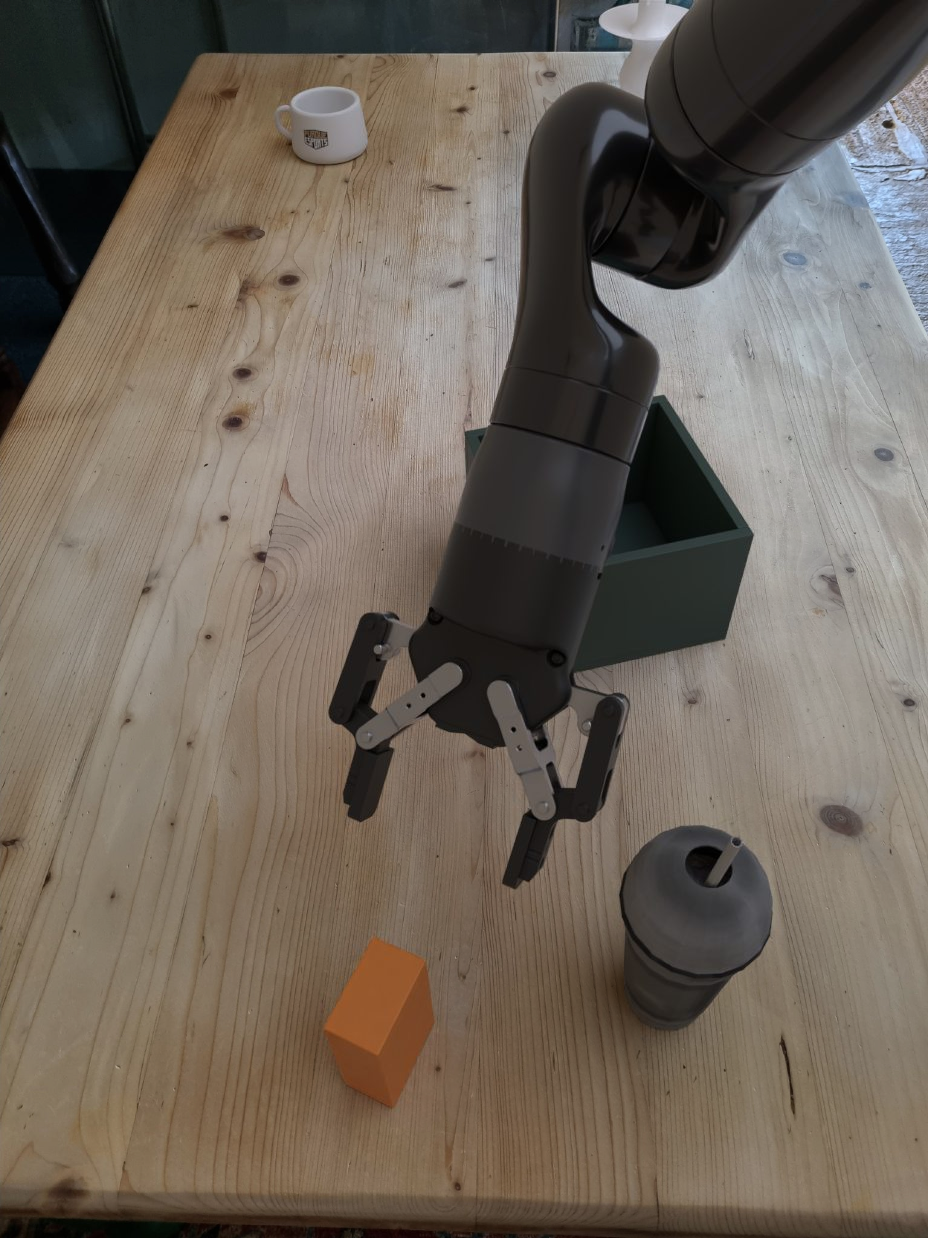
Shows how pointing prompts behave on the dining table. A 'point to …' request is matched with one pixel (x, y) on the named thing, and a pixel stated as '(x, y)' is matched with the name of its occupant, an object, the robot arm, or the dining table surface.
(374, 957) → the block
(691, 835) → the beverage cup
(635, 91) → the candlestick
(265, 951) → the dining table surface
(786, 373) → the dining table surface
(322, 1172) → the dining table surface
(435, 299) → the dining table surface
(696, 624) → the open box
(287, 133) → the mug
